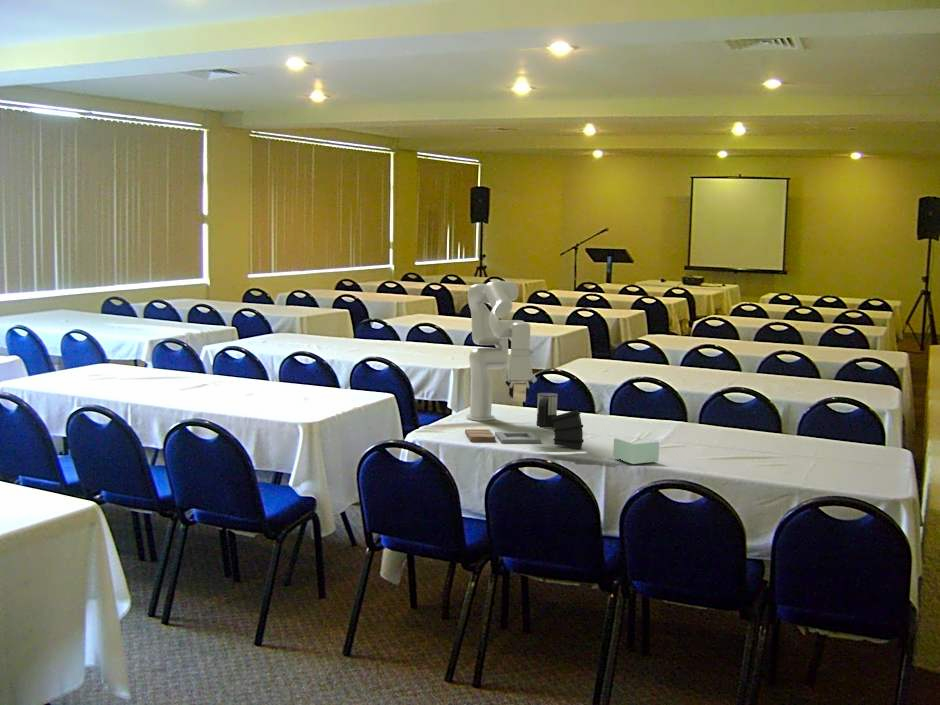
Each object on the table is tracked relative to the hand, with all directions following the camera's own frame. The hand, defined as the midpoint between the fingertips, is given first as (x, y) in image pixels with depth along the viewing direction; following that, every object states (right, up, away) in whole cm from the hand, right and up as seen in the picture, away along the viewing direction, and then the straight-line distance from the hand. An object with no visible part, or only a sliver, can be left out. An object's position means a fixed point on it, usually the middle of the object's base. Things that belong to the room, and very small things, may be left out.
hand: (518, 396), depth 412 cm
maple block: (0, -2, 0) cm, 2 cm away
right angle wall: (+43, -23, -29) cm, 56 cm away
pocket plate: (0, -17, +2) cm, 18 cm away
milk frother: (+17, -15, +27) cm, 36 cm away
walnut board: (-16, -17, +2) cm, 23 cm away
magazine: (+21, -21, -13) cm, 33 cm away
